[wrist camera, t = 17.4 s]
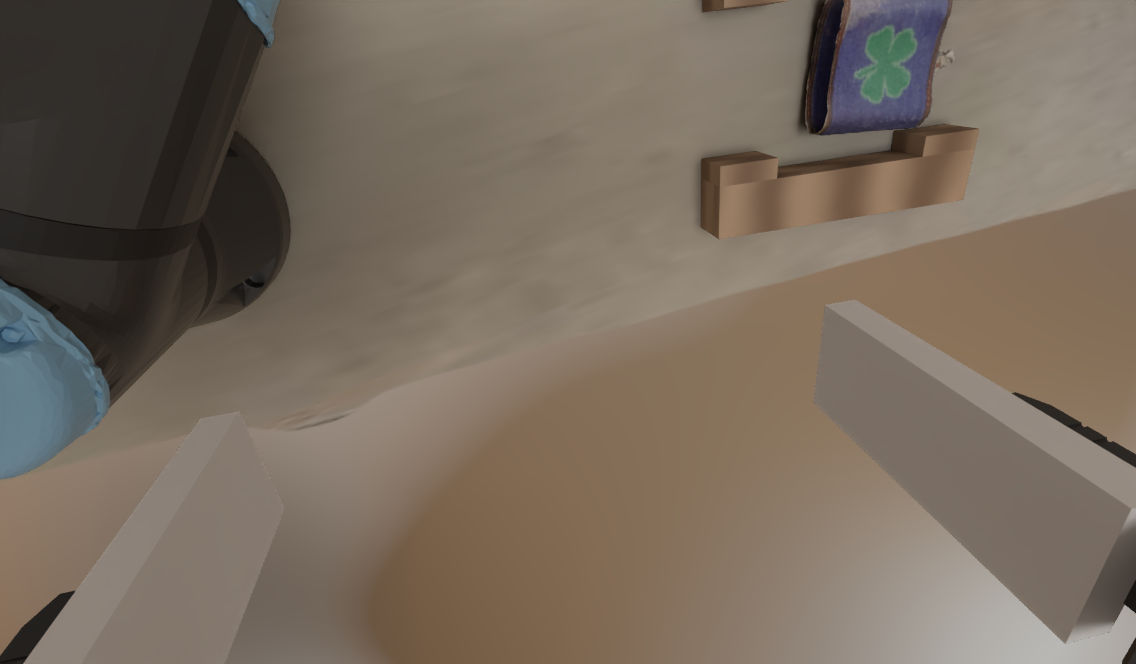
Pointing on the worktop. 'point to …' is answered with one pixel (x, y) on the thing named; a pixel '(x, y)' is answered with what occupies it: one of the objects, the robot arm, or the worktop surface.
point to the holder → (832, 177)
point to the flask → (875, 64)
